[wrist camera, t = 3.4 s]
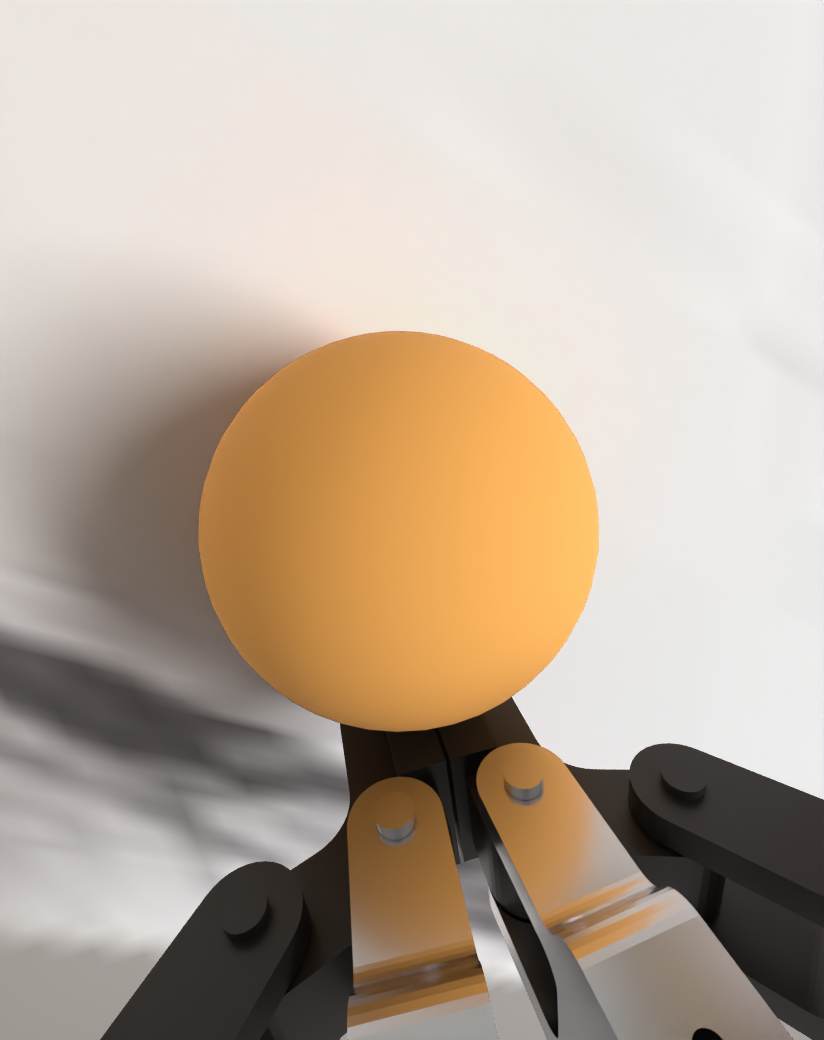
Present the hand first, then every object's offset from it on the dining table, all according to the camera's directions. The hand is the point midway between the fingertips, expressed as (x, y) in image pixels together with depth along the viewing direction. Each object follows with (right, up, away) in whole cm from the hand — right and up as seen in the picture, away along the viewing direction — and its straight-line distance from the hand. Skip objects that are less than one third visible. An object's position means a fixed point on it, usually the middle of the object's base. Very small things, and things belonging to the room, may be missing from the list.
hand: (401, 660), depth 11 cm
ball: (0, +3, -3) cm, 4 cm away
